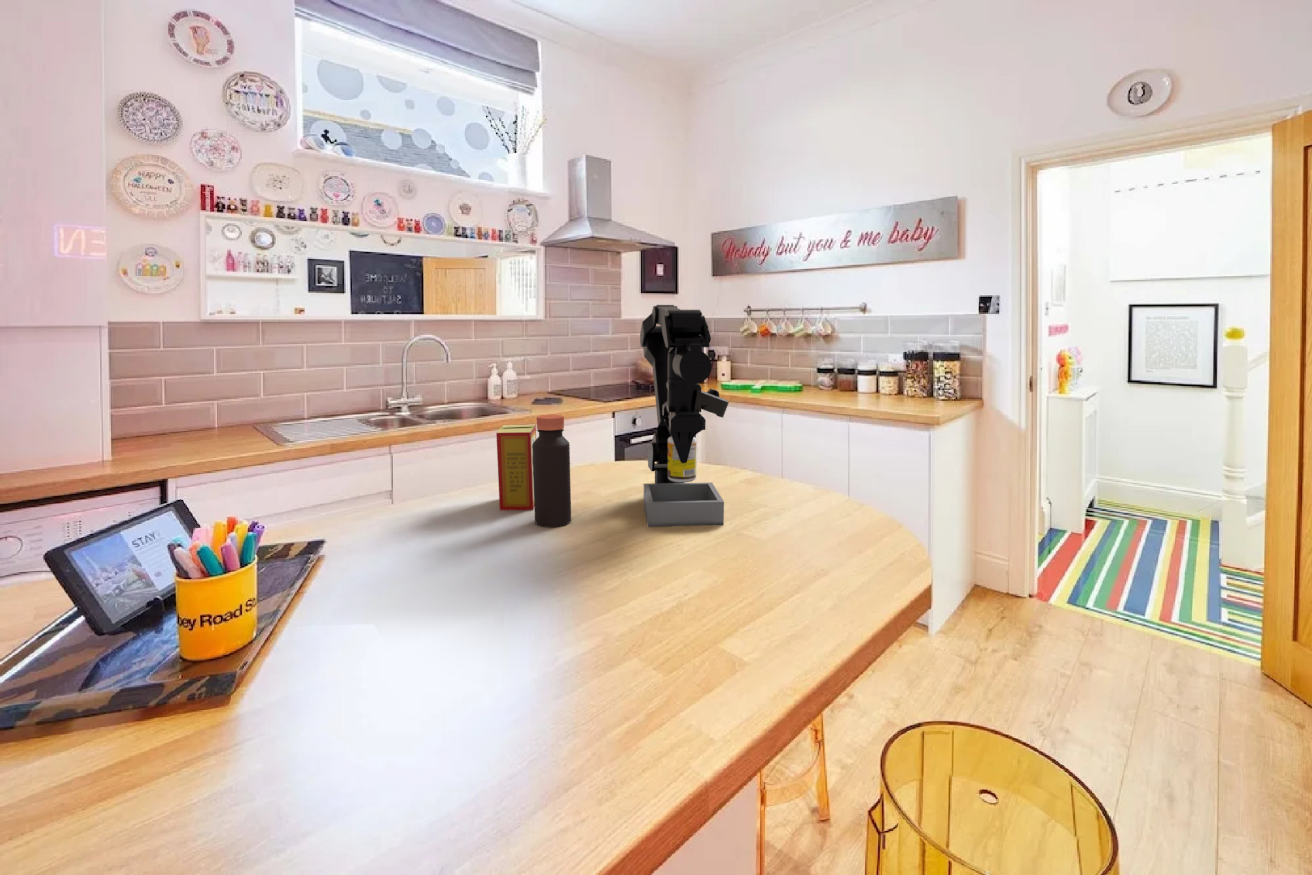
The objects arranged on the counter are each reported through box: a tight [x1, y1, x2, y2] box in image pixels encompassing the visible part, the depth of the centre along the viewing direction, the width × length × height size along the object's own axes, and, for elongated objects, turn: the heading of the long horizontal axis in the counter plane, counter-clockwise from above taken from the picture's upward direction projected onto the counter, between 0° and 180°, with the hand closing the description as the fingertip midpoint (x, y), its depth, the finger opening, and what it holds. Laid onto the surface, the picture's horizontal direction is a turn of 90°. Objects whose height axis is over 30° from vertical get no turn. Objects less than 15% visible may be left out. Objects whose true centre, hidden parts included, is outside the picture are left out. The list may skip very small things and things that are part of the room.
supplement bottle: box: [668, 436, 698, 483], centre depth 125 cm, size 6×6×10 cm
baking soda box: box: [495, 423, 537, 511], centre depth 133 cm, size 10×6×16 cm
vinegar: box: [532, 414, 572, 528], centre depth 120 cm, size 7×7×20 cm
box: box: [643, 482, 725, 528], centre depth 126 cm, size 14×14×4 cm
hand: (682, 459), depth 125 cm, fingers closed on supplement bottle, 6 cm apart
